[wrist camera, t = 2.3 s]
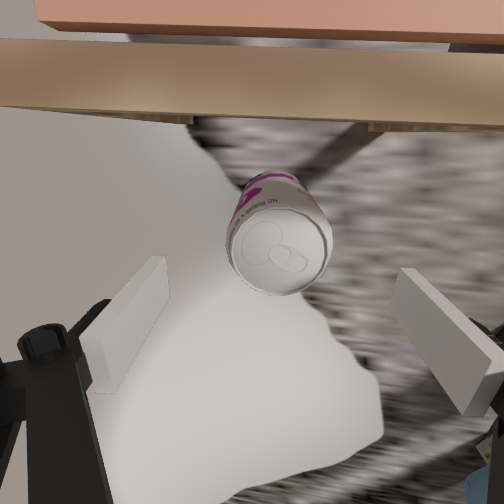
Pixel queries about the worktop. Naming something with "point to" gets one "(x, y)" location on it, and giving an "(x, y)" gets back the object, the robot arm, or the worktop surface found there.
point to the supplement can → (278, 235)
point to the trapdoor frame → (256, 84)
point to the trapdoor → (291, 19)
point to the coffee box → (485, 449)
